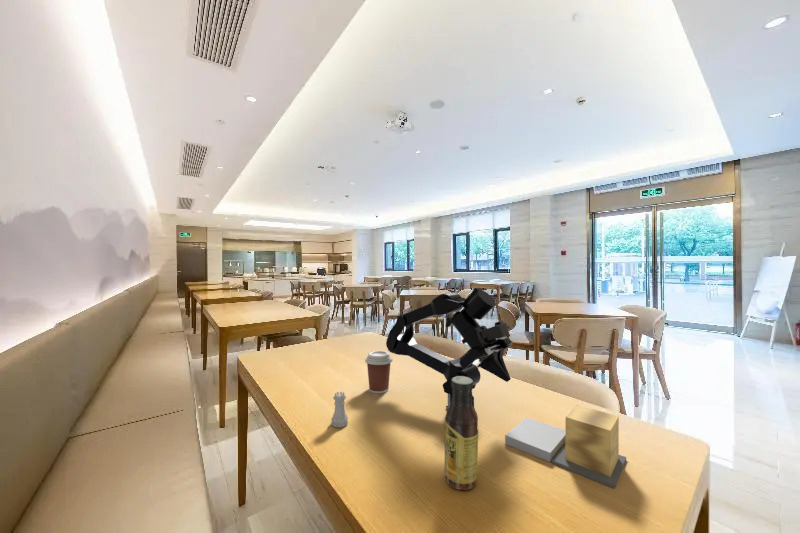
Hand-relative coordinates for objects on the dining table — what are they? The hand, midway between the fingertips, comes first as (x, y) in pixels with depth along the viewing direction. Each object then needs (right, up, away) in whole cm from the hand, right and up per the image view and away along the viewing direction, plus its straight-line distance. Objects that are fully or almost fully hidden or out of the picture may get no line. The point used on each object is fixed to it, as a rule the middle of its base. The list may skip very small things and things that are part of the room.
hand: (508, 380), depth 80 cm
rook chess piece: (-43, -13, +4) cm, 45 cm away
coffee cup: (-34, -13, +27) cm, 45 cm away
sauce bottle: (-15, -13, -19) cm, 27 cm away
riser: (+5, -13, -5) cm, 14 cm away
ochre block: (+13, -12, -13) cm, 22 cm away
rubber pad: (+13, -13, -12) cm, 22 cm away
